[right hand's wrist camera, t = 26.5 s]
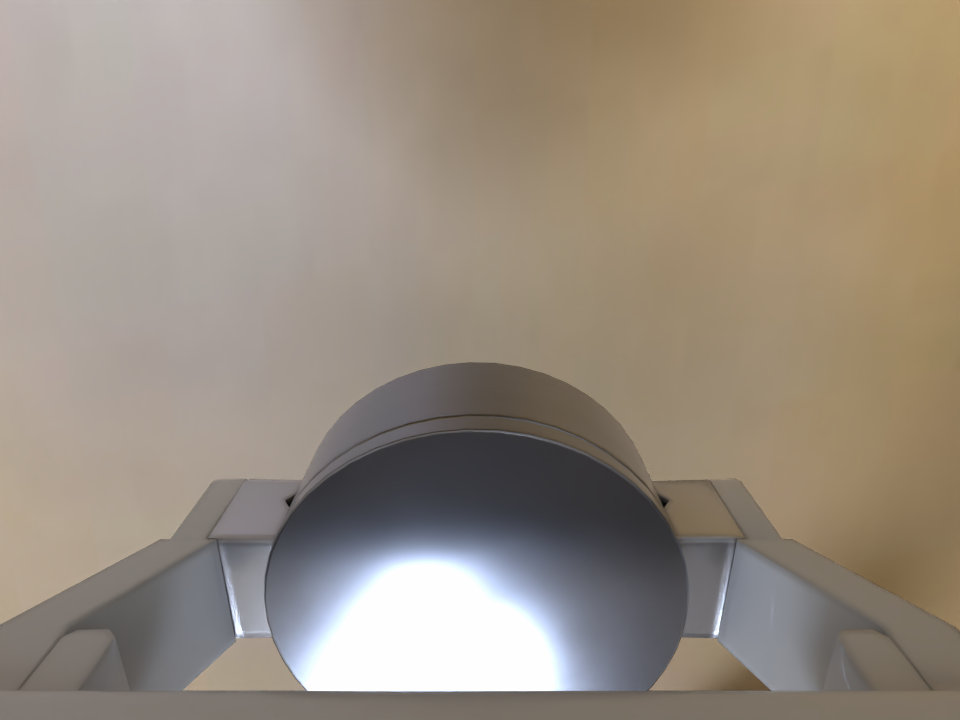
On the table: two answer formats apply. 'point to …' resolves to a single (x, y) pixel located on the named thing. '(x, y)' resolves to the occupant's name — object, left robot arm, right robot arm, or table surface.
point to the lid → (476, 544)
